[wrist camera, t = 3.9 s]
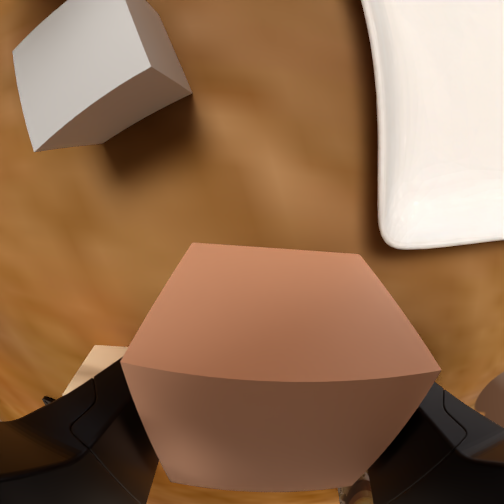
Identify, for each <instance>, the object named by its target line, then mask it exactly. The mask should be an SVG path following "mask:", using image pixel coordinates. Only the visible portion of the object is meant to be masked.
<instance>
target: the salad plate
mask: <svg viewBox="0 0 504 504" xmlns="http://www.w3.org/2000/svg"><path fill="white" fill-rule="evenodd" d="M361 2H362V6H363V10H364V15H365V19H366V24H367V28H368V33H369V39H370V45H371V52H372V59H373V67H374V76H375V86H376V104H377V123H378V201H377V205H378V225H379V230H380V233H381V236H382V238H383V240H384V241H385V243H386V244H388V245H389V246H390V247H393V248H396V249H403V250H412V249H431V248H441V247H450V246H458V245H466V244H474V243H481V242H490V241H499V240H504V0H361Z"/></svg>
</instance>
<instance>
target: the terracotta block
mask: <svg viewBox="0 0 504 504" xmlns="http://www.w3.org/2000/svg"><path fill="white" fill-rule="evenodd" d="M120 363H121V366H122V369H123V372H124V375H125V378H126V381H127V384H128V387H129V390H130V393H131V395H132V398H133V401H134V403H135V406H136V409H137V411H138V414H139V416H140V419H141V421H142V423H143V426H144V428H145V430H146V433H147V435H148V437H149V440H150V442H151V444H152V446H153V448H154V450H155V452H156V454H157V457H158V459H159V461H160V463H161V465H162V467H163V468H164V470H165V472H166V474H167V476H168V478H169V480H170V482H175V483H180V484H185V485H191V486H198V487H205V488H213V489H222V490H233V491H250V492H295V491H311V490H323V489H332V488H340V487H347V486H352V485H353V484H354V483H355V482H356V481H357V480H358V479H359V478H360V477H361V476H362V475H363V474H364V473H365V472H366V471H367V470H368V468H369V467H370V466H371V465H372V464H373V463H374V462H375V461H376V460H377V459H378V458H379V456H380V455H381V454H382V453H383V452H384V451H385V450H386V448H387V447H388V446H389V445H390V444H391V442H392V441H393V440H394V439H395V437H396V436H397V435H398V434H399V432H400V431H401V430H402V429H403V427H404V426H405V425H406V423H407V422H408V421H409V419H410V418H411V416H412V415H413V414H414V412H415V411H416V409H417V408H418V407H419V405H420V404H421V402H422V401H423V399H424V398H425V396H426V395H427V393H428V391H429V390H430V388H431V387H432V385H433V383H434V382H435V380H436V379H437V377H438V375H439V373H440V372H441V368H440V367H439V365H438V364H437V362H436V360H435V359H434V357H433V356H432V354H431V353H430V351H429V350H428V348H427V346H426V345H425V343H424V342H423V340H422V339H421V337H420V336H419V334H418V333H417V331H416V330H415V329H414V327H413V326H412V324H411V323H410V321H409V320H408V318H407V317H406V316H405V314H404V313H403V311H402V310H401V309H400V307H399V306H398V304H397V303H396V302H395V300H394V299H393V297H392V296H391V295H390V293H389V292H388V291H387V289H386V288H385V287H384V285H383V284H382V283H381V281H380V280H379V279H378V277H377V276H376V275H375V274H374V272H373V271H372V270H371V268H370V267H369V266H368V265H367V263H366V262H365V261H364V259H363V258H362V257H361V256H360V254H349V253H335V252H322V251H307V250H293V249H279V248H264V247H250V246H235V245H220V244H205V243H192V244H191V245H190V247H189V249H188V250H187V252H186V253H185V255H184V256H183V258H182V259H181V261H180V262H179V264H178V266H177V267H176V269H175V270H174V272H173V273H172V275H171V277H170V278H169V280H168V281H167V283H166V285H165V286H164V288H163V290H162V291H161V293H160V294H159V296H158V298H157V299H156V301H155V303H154V304H153V306H152V308H151V309H150V311H149V313H148V314H147V316H146V318H145V319H144V321H143V323H142V324H141V326H140V328H139V330H138V331H137V333H136V335H135V336H134V338H133V340H132V342H131V343H130V345H129V347H128V349H127V351H126V352H125V354H124V356H123V358H122V359H121V361H120Z"/></svg>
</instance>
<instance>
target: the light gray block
mask: <svg viewBox="0 0 504 504" xmlns="http://www.w3.org/2000/svg"><path fill="white" fill-rule="evenodd" d="M13 60H14V67H15V74H16V80H17V86H18V91H19V96H20V101H21V105H22V110H23V114H24V118H25V122H26V126H27V129H28V133H29V136H30V140H31V143H32V146H33V150H34V152H38V151H45V150H51V149H58V148H66V147H74V146H83V145H94V144H103V143H104V142H106V141H107V140H109V139H110V138H112V137H113V136H115V135H117V134H118V133H120V132H121V131H123V130H125V129H126V128H128V127H130V126H131V125H133V124H135V123H136V122H138V121H140V120H142V119H143V118H145V117H147V116H149V115H151V114H152V113H154V112H156V111H158V110H160V109H162V108H164V107H166V106H168V105H169V104H171V103H173V102H175V101H177V100H180V99H182V98H184V97H186V96H188V95H190V94H192V91H191V88H190V86H189V84H188V81H187V79H186V77H185V74H184V72H183V70H182V67H181V65H180V63H179V60H178V58H177V56H176V54H175V51H174V49H173V47H172V44H171V42H170V40H169V37H168V35H167V33H166V30H165V28H164V26H163V24H162V21H161V19H160V17H159V14H158V13H157V12H156V11H155V10H154V9H153V8H152V7H151V6H150V5H149V3H148V2H147V1H146V0H67V1H66V2H65V3H63V4H62V5H61V6H60V7H59V8H57V9H56V10H55V11H54V12H53V13H51V14H50V15H49V16H48V17H47V18H46V19H45V20H43V21H42V22H41V23H40V24H39V25H38V26H37V27H36V28H35V29H34V30H33V31H32V32H31V33H30V34H29V35H28V36H27V37H26V38H25V39H24V40H23V41H22V42H21V43H20V44H19V45H18V46H17V47H16V48H15V49H14V50H13Z"/></svg>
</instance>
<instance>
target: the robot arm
mask: <svg viewBox="0 0 504 504" xmlns="http://www.w3.org/2000/svg"><path fill="white" fill-rule="evenodd" d="M122 358H123V357H121V358H120V359H118V360H117V361H116V362H114V363H113V364H111V365H110V366H108V367H107V368H105V369H104V370H102V371H101V372H100V373H98V374H97V375H95V376H94V379H93V378H91V379H89V380H88V381H86V382H85V383H83V384H82V385H80V386H79V387H77V388H75V389H74V390H72V391H71V392H69V393H67V394H66V395H64V396H62V397H60V398H59V399H57V400H52V399H50V398H48V397H45V396H44V397H43V399H42V400H43V402H44V403H45V406H43V407H41V408H40V409H38V410H36V411H34V412H32V413H30V414H28V415H26V416H24V417H21V418H19V419H16V420H13V421H7V422H0V504H146V502H147V499H148V495H149V492H150V488H151V485H152V482H153V478H154V475H155V472H156V468H157V465H158V462H159V459H158V457H157V454H156V452H155V450H154V448H153V446H152V444H151V442H150V440H149V437H148V435H147V433H146V430H145V428H144V426H143V423H142V421H141V419H140V416H139V414H138V411H137V409H136V406H135V403H134V401H133V398H132V395H131V393H130V390H129V387H128V384H127V381H126V378H125V375H124V372H123V369H122V366H121V363H120V361H121V359H122ZM368 475H369V481H370V487H371V492H372V499H373V504H504V428H503V427H501V426H499V425H498V424H496V423H495V422H492V421H491V420H489V419H488V418H486V417H485V416H483V415H481V414H480V413H478V412H476V411H475V410H473V409H472V408H470V407H469V406H467V405H466V404H464V403H463V402H461V401H460V400H458V399H457V398H456V397H454V396H453V395H452V394H450V393H449V392H448V391H446V390H443V388H442V387H441V386H439V385H438V384H437V383H435V382H434V383H433V385H432V387H431V388H430V390H429V391H428V393H427V395H426V396H425V398H424V399H423V401H422V402H421V404H420V405H419V407H418V408H417V409H416V411H415V412H414V414H413V415H412V416H411V418H410V419H409V421H408V422H407V423H406V425H405V426H404V427H403V429H402V430H401V431H400V432H399V434H398V435H397V436H396V437H395V439H394V440H393V441H392V442H391V444H390V445H389V446H388V447H387V448H386V450H385V451H384V452H383V453H382V454H381V455H380V456H379V458H378V459H377V460H376V461H375V462H374V463H373V464H372V465H371V466H370V467H369V468H368Z"/></svg>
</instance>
